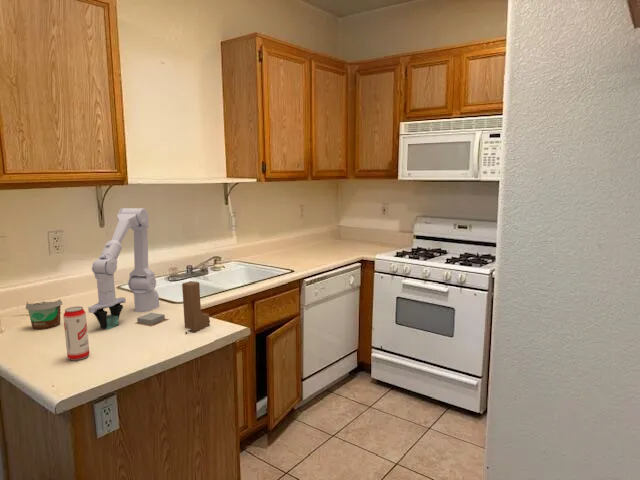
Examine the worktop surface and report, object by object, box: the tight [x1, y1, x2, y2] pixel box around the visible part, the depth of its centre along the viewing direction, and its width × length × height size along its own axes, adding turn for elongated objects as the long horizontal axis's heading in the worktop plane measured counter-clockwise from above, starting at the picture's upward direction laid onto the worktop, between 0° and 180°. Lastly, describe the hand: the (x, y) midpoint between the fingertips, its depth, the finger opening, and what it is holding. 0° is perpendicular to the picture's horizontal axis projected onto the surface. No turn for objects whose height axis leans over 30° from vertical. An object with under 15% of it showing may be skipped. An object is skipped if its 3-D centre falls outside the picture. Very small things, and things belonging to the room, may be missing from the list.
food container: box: [25, 299, 63, 331], centre depth 172 cm, size 12×6×10 cm, turn 105°
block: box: [99, 314, 120, 330], centre depth 169 cm, size 4×4×5 cm
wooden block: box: [181, 280, 211, 333], centre depth 168 cm, size 9×4×18 cm, turn 155°
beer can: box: [62, 306, 90, 362], centre depth 143 cm, size 6×6×16 cm
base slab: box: [134, 318, 170, 327], centre depth 174 cm, size 9×9×2 cm
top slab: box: [136, 312, 166, 325], centre depth 174 cm, size 7×7×2 cm
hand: (109, 326), depth 169 cm, fingers closed on block, 4 cm apart
